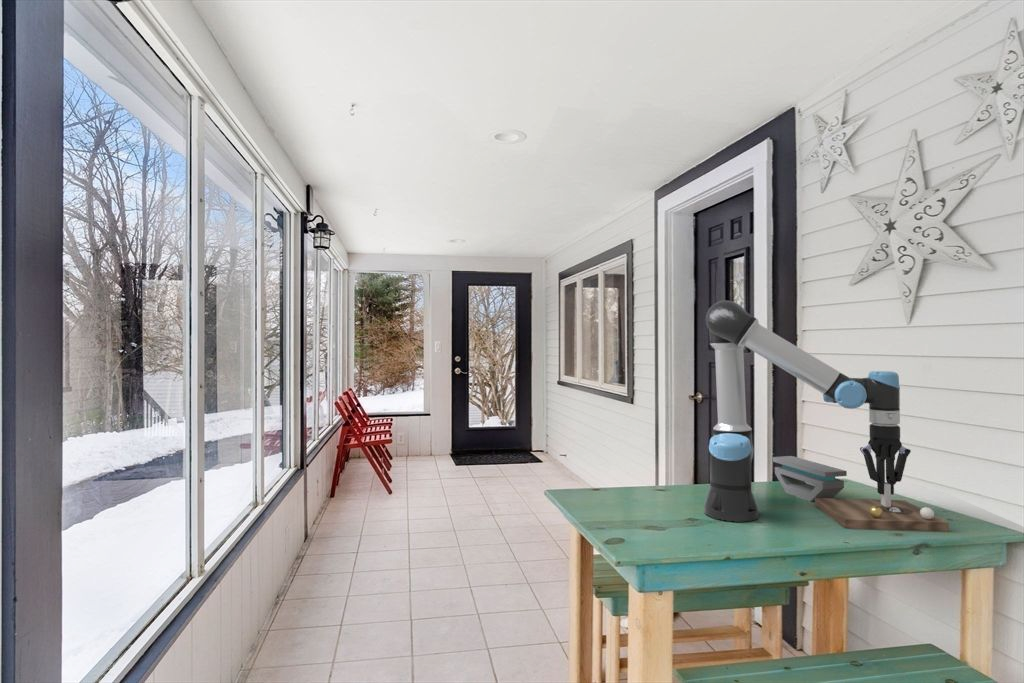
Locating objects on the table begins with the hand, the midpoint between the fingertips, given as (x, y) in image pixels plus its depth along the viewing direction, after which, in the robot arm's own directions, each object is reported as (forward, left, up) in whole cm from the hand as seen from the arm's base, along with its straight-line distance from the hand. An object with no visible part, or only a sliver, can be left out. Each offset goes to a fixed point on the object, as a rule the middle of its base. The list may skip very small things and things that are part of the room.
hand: (885, 505), depth 167 cm
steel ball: (+2, 0, -2) cm, 3 cm away
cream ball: (+6, -8, 0) cm, 11 cm away
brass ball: (-7, -8, 0) cm, 11 cm away
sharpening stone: (-14, +23, -4) cm, 27 cm away
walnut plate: (-3, 0, -4) cm, 4 cm away
